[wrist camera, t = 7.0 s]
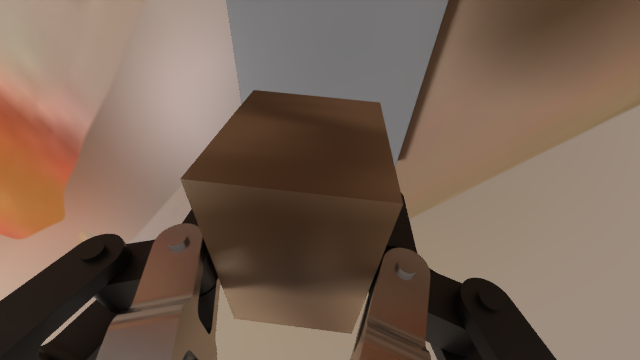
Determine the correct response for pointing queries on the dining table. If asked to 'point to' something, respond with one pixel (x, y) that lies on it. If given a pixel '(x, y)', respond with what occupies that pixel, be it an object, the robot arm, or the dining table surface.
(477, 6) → the dining table surface
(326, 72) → the plate
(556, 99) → the dining table surface
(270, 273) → the walnut brick
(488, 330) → the robot arm
